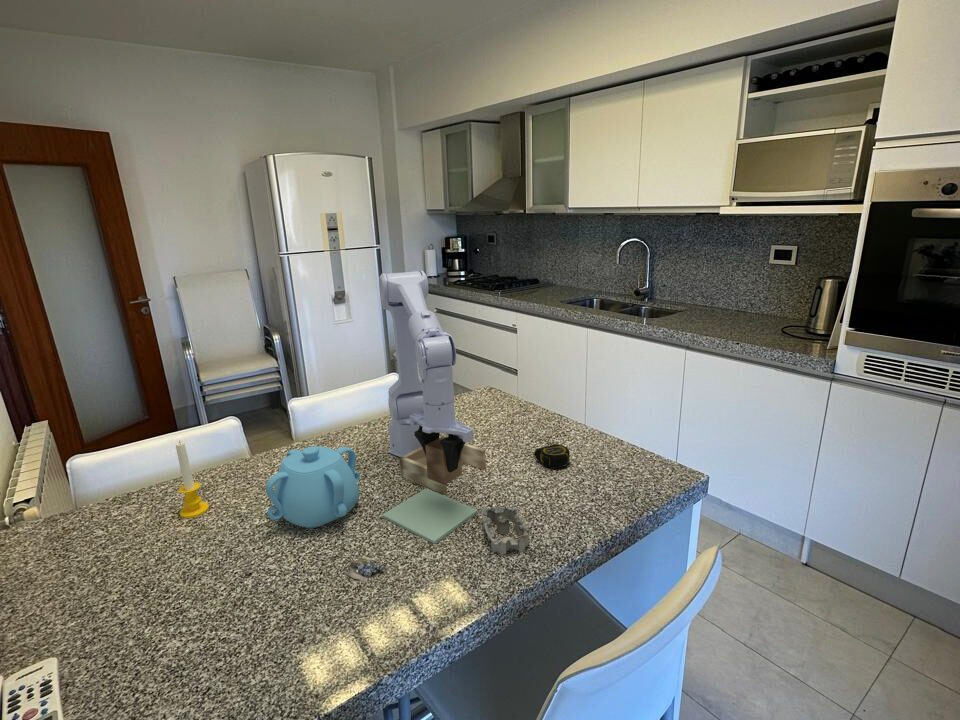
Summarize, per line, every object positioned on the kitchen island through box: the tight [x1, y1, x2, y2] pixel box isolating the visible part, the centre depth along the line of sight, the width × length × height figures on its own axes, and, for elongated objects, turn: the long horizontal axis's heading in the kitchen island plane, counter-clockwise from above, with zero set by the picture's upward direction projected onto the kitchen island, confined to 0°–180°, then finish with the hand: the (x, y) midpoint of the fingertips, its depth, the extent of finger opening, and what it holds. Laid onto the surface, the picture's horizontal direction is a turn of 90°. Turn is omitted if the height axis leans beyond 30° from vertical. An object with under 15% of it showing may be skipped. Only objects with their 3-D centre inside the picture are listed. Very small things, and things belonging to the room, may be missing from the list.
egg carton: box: [481, 505, 531, 555], centre depth 90 cm, size 10×7×4 cm
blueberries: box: [345, 554, 388, 582], centre depth 84 cm, size 7×8×2 cm
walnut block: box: [426, 435, 463, 485], centre depth 98 cm, size 4×5×7 cm
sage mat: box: [381, 487, 479, 545], centre depth 98 cm, size 14×12×1 cm
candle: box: [175, 440, 210, 519], centre depth 101 cm, size 5×5×16 cm
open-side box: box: [398, 435, 487, 495], centre depth 114 cm, size 13×14×4 cm
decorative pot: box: [265, 445, 361, 530], centre depth 99 cm, size 16×16×14 cm
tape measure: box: [533, 443, 571, 469], centre depth 116 cm, size 7×7×4 cm
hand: (443, 466), depth 98 cm, fingers closed on walnut block, 4 cm apart
